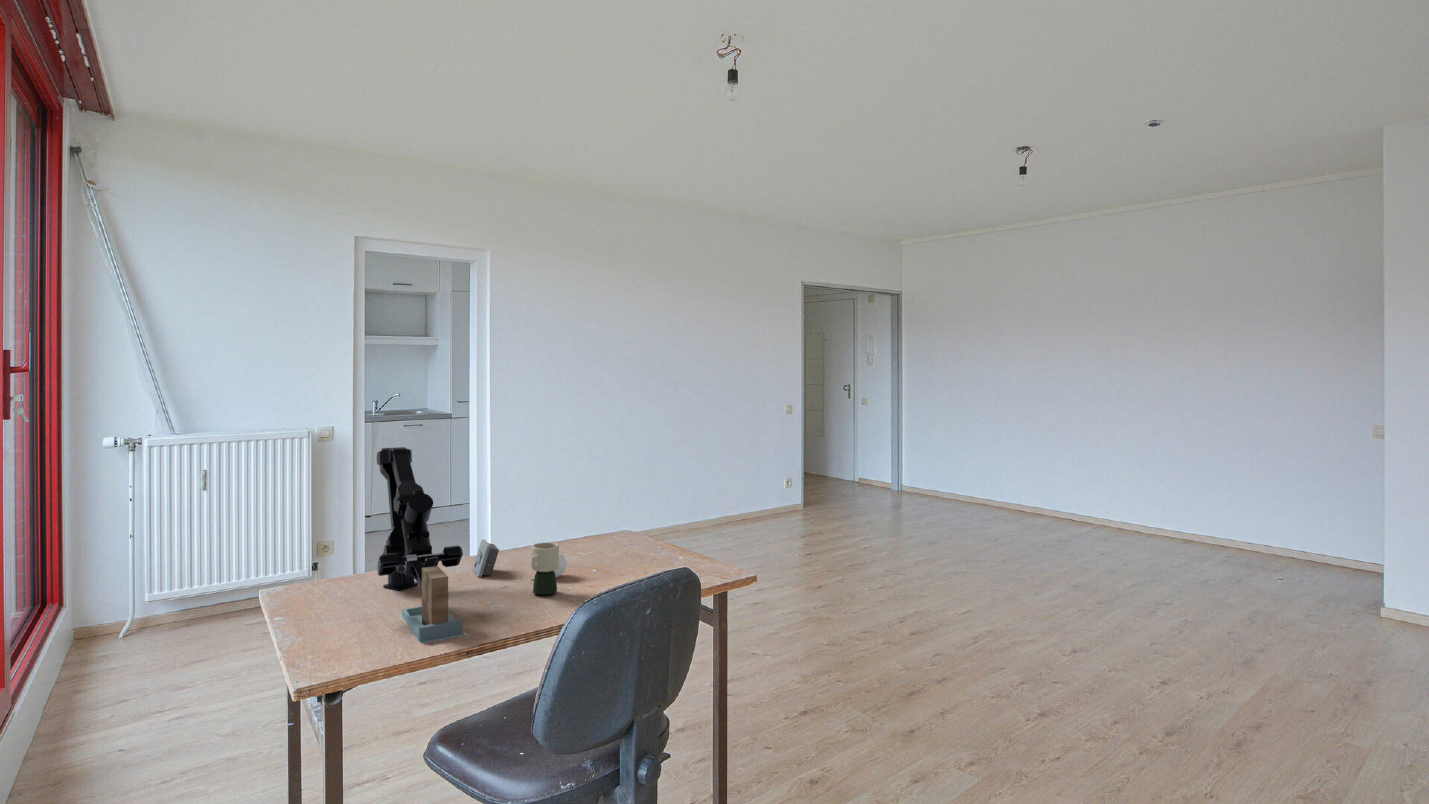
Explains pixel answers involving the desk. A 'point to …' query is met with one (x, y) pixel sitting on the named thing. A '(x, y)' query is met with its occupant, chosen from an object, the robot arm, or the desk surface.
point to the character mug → (545, 567)
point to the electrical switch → (485, 559)
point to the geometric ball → (560, 565)
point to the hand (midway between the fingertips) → (426, 591)
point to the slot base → (432, 626)
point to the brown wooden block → (434, 596)
